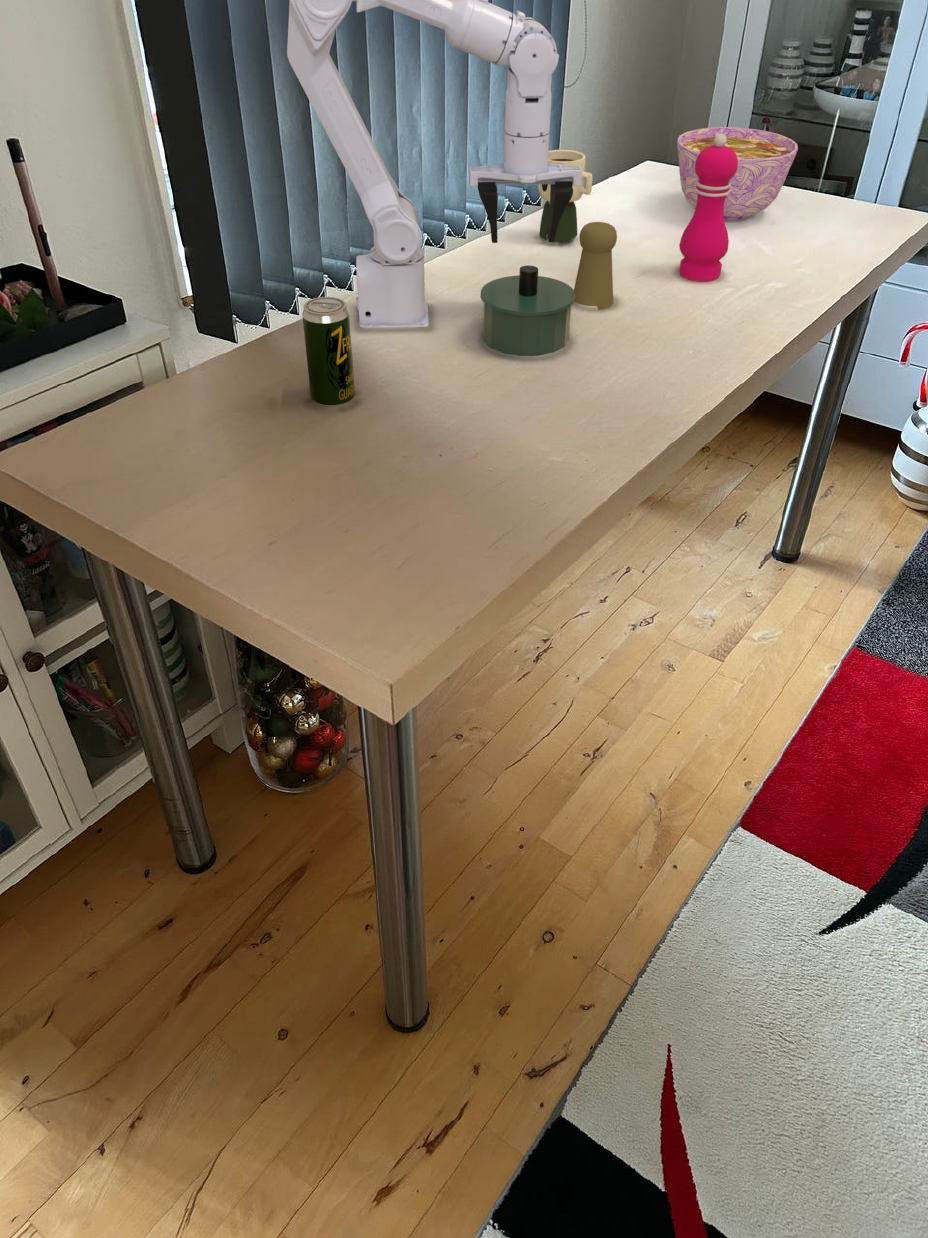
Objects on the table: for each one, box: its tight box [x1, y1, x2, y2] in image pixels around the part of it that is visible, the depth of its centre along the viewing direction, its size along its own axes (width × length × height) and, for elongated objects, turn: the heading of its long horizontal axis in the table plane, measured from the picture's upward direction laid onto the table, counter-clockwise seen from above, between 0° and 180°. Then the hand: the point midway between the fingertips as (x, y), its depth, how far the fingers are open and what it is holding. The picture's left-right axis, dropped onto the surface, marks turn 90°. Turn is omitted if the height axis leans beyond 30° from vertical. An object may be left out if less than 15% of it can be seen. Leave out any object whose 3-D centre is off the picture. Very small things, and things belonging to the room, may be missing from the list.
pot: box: [482, 302, 572, 357], centre depth 134 cm, size 11×11×6 cm
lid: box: [480, 264, 575, 316], centre depth 131 cm, size 12×12×4 cm
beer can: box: [301, 296, 356, 408], centre depth 119 cm, size 5×5×12 cm
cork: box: [573, 221, 618, 311], centre depth 143 cm, size 6×6×11 cm
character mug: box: [538, 149, 593, 243], centre depth 162 cm, size 11×7×13 cm, turn 55°
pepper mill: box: [678, 134, 738, 282], centre depth 148 cm, size 7×7×20 cm
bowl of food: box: [676, 126, 799, 222], centre depth 173 cm, size 20×20×12 cm
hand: (522, 239), depth 136 cm, fingers open, 7 cm apart
